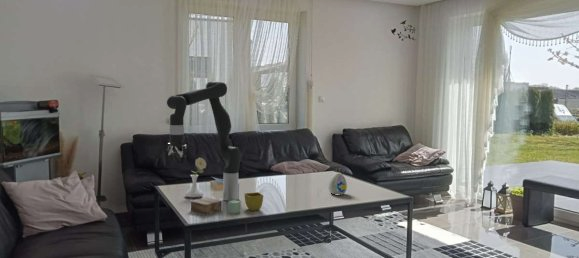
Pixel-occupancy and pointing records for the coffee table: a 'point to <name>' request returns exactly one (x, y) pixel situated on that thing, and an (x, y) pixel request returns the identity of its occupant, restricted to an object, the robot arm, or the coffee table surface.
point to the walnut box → (206, 206)
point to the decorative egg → (337, 184)
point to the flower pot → (253, 200)
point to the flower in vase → (194, 190)
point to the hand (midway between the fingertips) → (176, 163)
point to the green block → (234, 206)
